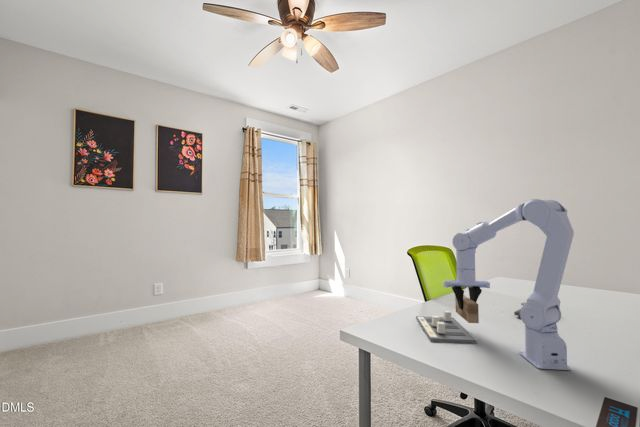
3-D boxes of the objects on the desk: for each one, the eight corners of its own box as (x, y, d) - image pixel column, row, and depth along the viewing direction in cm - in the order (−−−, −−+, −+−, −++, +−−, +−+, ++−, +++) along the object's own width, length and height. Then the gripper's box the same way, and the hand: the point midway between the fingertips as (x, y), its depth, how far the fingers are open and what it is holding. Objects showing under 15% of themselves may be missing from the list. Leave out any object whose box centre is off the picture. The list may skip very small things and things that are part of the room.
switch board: (476, 343, 93) (476, 339, 93) (430, 341, 95) (430, 337, 95) (453, 320, 115) (453, 317, 115) (416, 318, 116) (416, 315, 117)
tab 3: (451, 321, 110) (451, 312, 110) (445, 320, 110) (445, 312, 110) (449, 319, 112) (449, 310, 112) (443, 319, 112) (443, 310, 112)
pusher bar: (478, 323, 95) (478, 304, 95) (468, 322, 95) (468, 304, 95) (464, 312, 107) (464, 295, 107) (455, 311, 107) (455, 295, 107)
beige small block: (444, 333, 98) (444, 323, 98) (438, 333, 98) (438, 323, 98) (443, 331, 100) (443, 321, 100) (436, 331, 100) (436, 321, 100)
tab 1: (439, 326, 104) (439, 317, 104) (433, 326, 104) (433, 317, 104) (437, 324, 106) (437, 315, 106) (431, 324, 106) (431, 315, 106)
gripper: (483, 267, 105) (483, 306, 104) (440, 266, 106) (440, 305, 106) (492, 270, 98) (493, 312, 97) (446, 269, 99) (447, 310, 99)
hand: (466, 308), depth 101 cm, fingers closed on pusher bar, 3 cm apart
